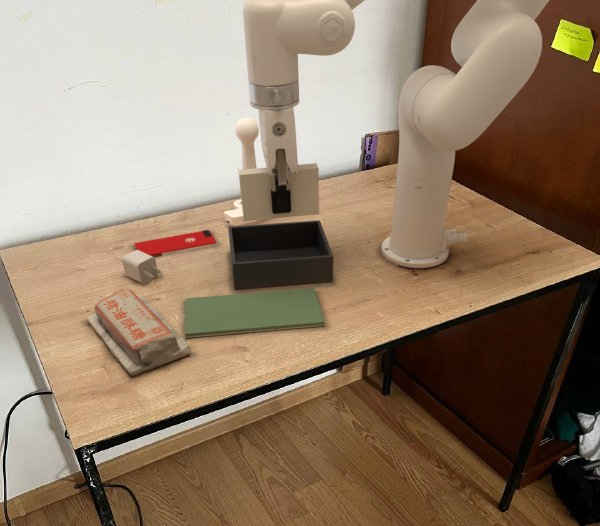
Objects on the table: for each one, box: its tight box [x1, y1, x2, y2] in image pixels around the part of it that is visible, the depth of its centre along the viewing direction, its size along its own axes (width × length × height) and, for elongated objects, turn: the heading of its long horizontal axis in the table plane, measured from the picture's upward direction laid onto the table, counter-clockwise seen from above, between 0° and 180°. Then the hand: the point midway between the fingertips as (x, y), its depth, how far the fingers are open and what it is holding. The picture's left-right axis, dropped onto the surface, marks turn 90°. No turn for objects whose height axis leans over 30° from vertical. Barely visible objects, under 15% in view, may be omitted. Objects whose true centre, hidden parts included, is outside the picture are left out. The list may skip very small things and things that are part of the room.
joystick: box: [223, 116, 260, 226], centre depth 123 cm, size 11×8×20 cm
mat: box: [184, 287, 325, 340], centre depth 101 cm, size 22×10×1 cm, turn 98°
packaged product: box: [85, 288, 191, 377], centre depth 95 cm, size 18×5×10 cm
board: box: [238, 162, 320, 221], centre depth 103 cm, size 13×2×8 cm, turn 98°
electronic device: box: [134, 229, 217, 257], centre depth 119 cm, size 6×1×15 cm
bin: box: [227, 219, 334, 291], centre depth 111 cm, size 17×14×6 cm
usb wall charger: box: [121, 249, 163, 285], centre depth 109 cm, size 4×7×4 cm, turn 50°
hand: (280, 207), depth 105 cm, fingers closed on board, 2 cm apart
